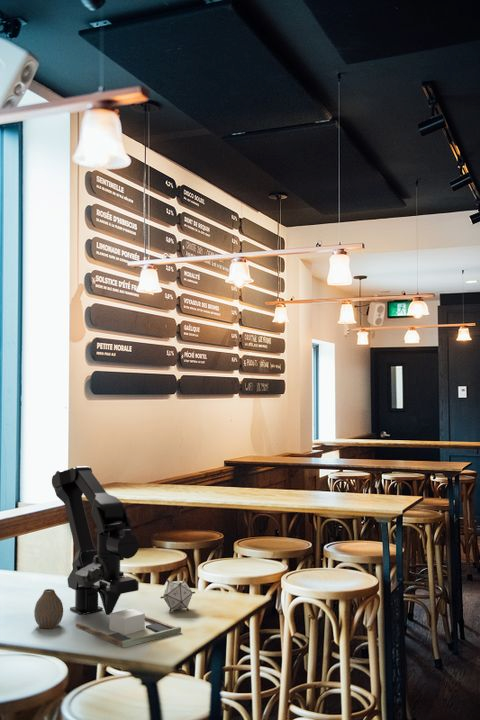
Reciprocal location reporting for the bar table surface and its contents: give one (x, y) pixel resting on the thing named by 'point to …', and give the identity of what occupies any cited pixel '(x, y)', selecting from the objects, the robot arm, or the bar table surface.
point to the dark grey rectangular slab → (153, 627)
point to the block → (127, 621)
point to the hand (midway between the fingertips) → (108, 614)
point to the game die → (177, 595)
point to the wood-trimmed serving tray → (136, 640)
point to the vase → (48, 610)
